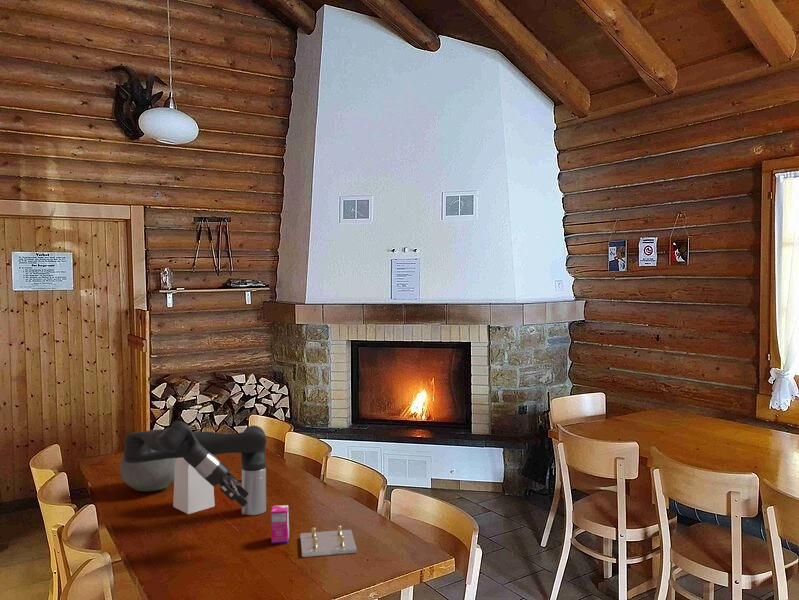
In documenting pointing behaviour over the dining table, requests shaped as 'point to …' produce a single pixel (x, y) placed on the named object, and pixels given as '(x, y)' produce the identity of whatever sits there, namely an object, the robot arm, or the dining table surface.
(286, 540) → the supplement box
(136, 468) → the ceramic pot
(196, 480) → the milk
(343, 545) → the chassis plate
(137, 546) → the dining table surface
